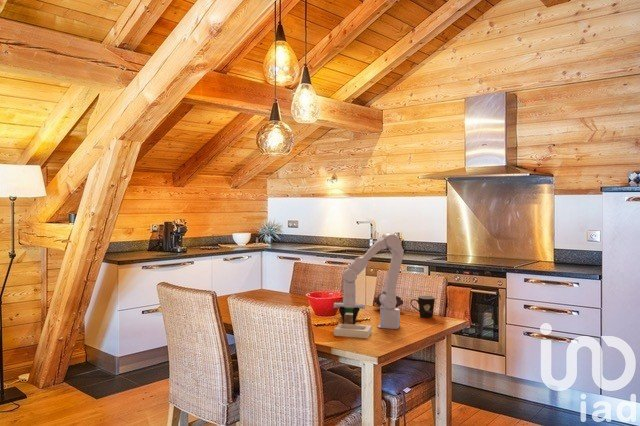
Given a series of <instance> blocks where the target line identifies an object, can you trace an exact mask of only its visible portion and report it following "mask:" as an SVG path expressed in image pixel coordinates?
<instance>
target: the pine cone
mask: <svg viewBox="0 0 640 426" xmlns="http://www.w3.org/2000/svg"><path fill="white" fill-rule="evenodd" d="M381 293H382V292H380V293H379V294H378V295H377V296H376V297H374V298H373V299H374V300H373V301H372V302H373V303H376V305H377V307H378V308H380V306H381V303H380V301H379V296H380V295H381ZM396 301H397V303H396V306H395V308H398V307H400V306H403V305H404V300H403V299H402V298H401V297H400V296H397V295H396Z"/></svg>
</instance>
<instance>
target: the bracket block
mask: <svg viewBox="0 0 640 426" xmlns="http://www.w3.org/2000/svg"><path fill="white" fill-rule="evenodd" d="M344 324H353V313H345V314H344Z"/></svg>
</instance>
